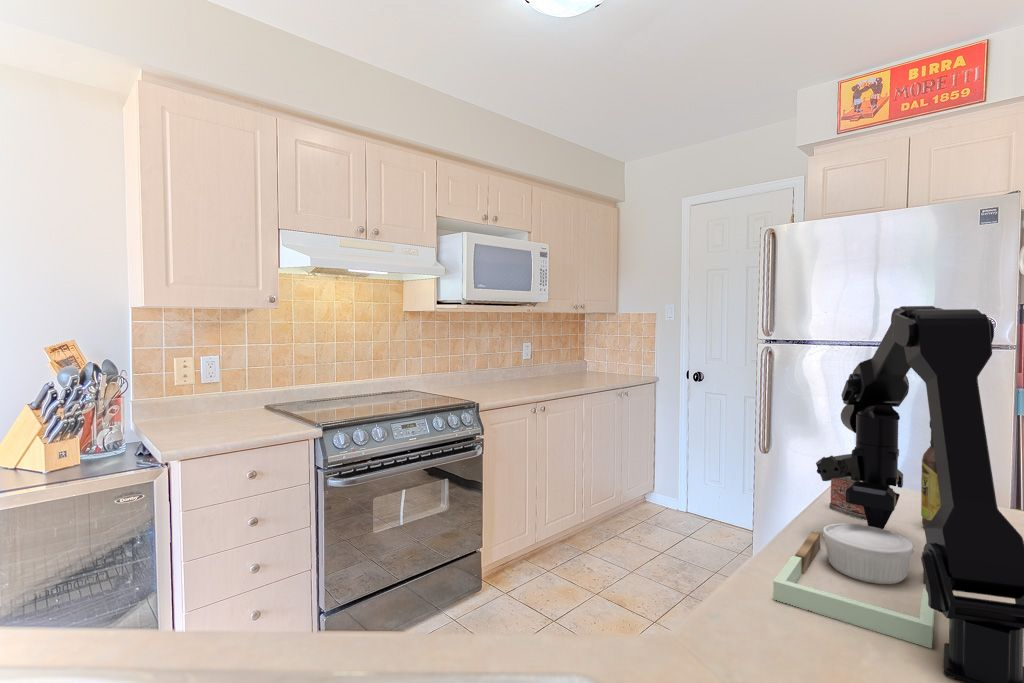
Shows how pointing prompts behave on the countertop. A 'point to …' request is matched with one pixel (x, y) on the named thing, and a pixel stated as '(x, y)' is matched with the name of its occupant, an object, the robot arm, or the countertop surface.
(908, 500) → the countertop surface
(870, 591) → the countertop surface
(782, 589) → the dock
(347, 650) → the countertop surface
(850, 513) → the lighter
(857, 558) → the ramekin
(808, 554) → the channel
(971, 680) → the robot arm
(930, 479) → the sauce bottle
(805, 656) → the countertop surface
